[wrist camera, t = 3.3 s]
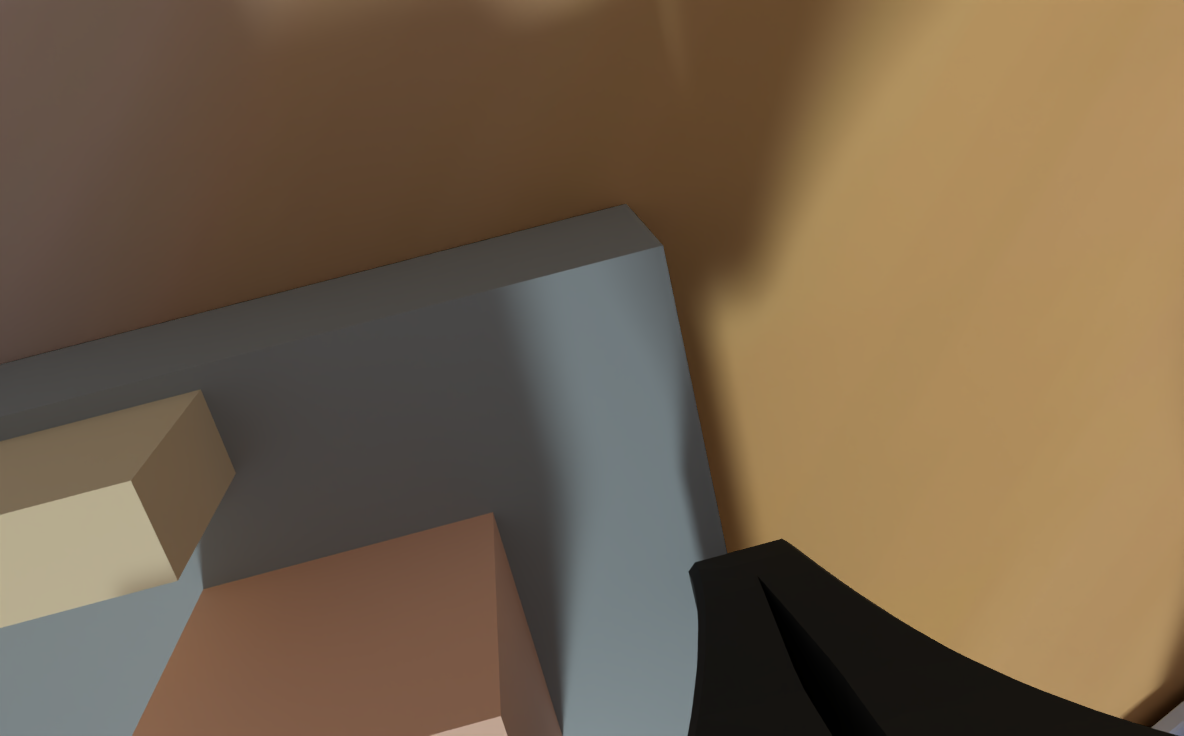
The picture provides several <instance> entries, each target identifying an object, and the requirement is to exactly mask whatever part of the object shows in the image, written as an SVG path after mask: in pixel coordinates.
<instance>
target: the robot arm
mask: <svg viewBox="0 0 1184 736" xmlns="http://www.w3.org/2000/svg"><path fill="white" fill-rule="evenodd" d="M688 572H689V576H690V581H691V585H692V590H693V594H694V599H695V603H696V608H697V614H698V652H697V671H696V679H695V688H694V696H693V705H692V713H691V719H690V724H689V730H688V735H687V736H1184V701H1182V702H1181V703H1180V704H1179V705H1178V706H1176V707H1175V708H1174V709H1173V710H1172V711H1170V712H1169V713H1168V714H1167V715H1166V716H1164V717H1163V718H1162V719H1161V720H1160V721H1158V722H1157V723H1156V724H1155V725H1154V726H1152V727H1151V728H1150V727H1146V726H1143V725H1139V724H1136V723H1133V722H1130V721H1127V720H1123V719H1120V718H1117V717H1114V716H1111V715H1108V714H1105V713H1102V712H1099V711H1096V710H1093V709H1090V708H1088V707H1085V706H1082V705H1079V704H1077V703H1074V702H1071V701H1068V700H1066V699H1063V698H1060V697H1058V696H1055V695H1052V694H1049V693H1047V692H1044V691H1042V690H1039V689H1037V688H1034V687H1032V686H1029V685H1027V684H1024V683H1022V682H1020V681H1017V680H1015V679H1013V678H1010V677H1008V676H1006V675H1004V674H1002V673H1000V672H997V671H995V670H993V669H991V668H989V667H987V666H984V665H982V664H980V663H978V662H976V661H973V660H971V659H969V658H967V657H965V656H963V655H961V654H959V653H957V652H955V651H953V650H951V649H949V648H947V647H945V646H944V645H942V644H940V643H938V642H937V641H935V640H933V639H931V638H930V637H928V636H926V635H924V634H923V633H921V632H919V631H917V630H916V629H914V628H912V627H911V626H909V625H907V624H906V623H904V622H902V621H901V620H899V619H897V618H896V617H894V616H893V615H891V614H890V613H888V612H886V611H885V610H883V609H882V608H880V607H879V606H877V605H876V604H874V603H873V602H871V601H869V600H868V599H866V598H865V597H863V596H862V595H860V594H859V593H857V592H856V591H854V590H853V589H852V588H850V587H849V586H847V585H846V584H844V583H843V582H842V581H840V580H839V579H837V578H836V577H835V576H833V575H832V574H830V573H829V572H828V571H826V570H825V569H823V568H822V567H821V566H819V565H818V564H817V563H815V562H814V561H813V560H811V559H810V558H809V557H807V556H806V555H805V554H803V553H802V552H801V551H799V550H798V549H797V548H795V547H794V546H793V545H791V544H790V543H788V542H787V541H785V540H783V539H780V540H776V541H772V542H769V543H765V544H761V545H757V546H754V547H750V548H746V549H742V550H739V551H735V552H731V553H728V554H724V555H720V556H716V557H713V558H709V559H705V560H701V561H698V562H695V563H694V564H693V566H692V567H691V569H690V570H689V571H688Z"/></svg>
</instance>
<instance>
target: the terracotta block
mask: <svg viewBox="0 0 1184 736" xmlns="http://www.w3.org/2000/svg"><path fill="white" fill-rule="evenodd" d="M132 736H562V733H561V730H560V726H559V723H558V720H557V717H556V714H555V710H554V707H553V704H552V701H551V697H550V694H549V691H548V688H547V685H546V681H545V678H544V675H543V672H542V669H541V665H540V662H539V659H538V656H537V652H536V649H535V646H534V643H533V640H532V636H531V633H530V630H529V627H528V624H527V620H526V617H525V614H524V611H523V607H522V604H521V601H520V598H519V595H518V591H517V588H516V585H515V582H514V578H513V575H512V572H511V569H510V566H509V562H508V559H507V556H506V553H505V550H504V546H503V543H502V540H501V537H500V533H499V530H498V527H497V524H496V521H495V517H494V514H493V512H492V513H488V514H484V515H481V516H477V517H473V518H469V519H466V520H462V521H458V522H454V523H451V524H447V525H443V526H439V527H436V528H432V529H428V530H424V531H421V532H417V533H413V534H409V535H406V536H402V537H398V538H394V539H391V540H387V541H383V542H379V543H375V544H372V545H368V546H364V547H360V548H357V549H353V550H349V551H345V552H342V553H338V554H334V555H330V556H327V557H323V558H319V559H315V560H312V561H308V562H304V563H300V564H297V565H293V566H289V567H285V568H282V569H278V570H274V571H270V572H267V573H263V574H259V575H255V576H252V577H248V578H244V579H240V580H237V581H233V582H229V583H225V584H222V585H218V586H214V587H210V588H207V589H203V591H202V593H201V595H200V597H199V599H198V601H197V603H196V605H195V607H194V609H193V611H192V613H191V615H190V618H189V620H188V622H187V624H186V626H185V628H184V630H183V632H182V634H181V636H180V638H179V640H178V642H177V644H176V646H175V648H174V650H173V653H172V655H171V657H170V659H169V661H168V663H167V665H166V667H165V669H164V671H163V673H162V675H161V677H160V679H159V681H158V683H157V685H156V687H155V690H154V692H153V694H152V696H151V698H150V700H149V702H148V704H147V706H146V708H145V710H144V712H143V714H142V716H141V718H140V720H139V722H138V725H137V727H136V729H135V731H134V733H133V735H132Z"/></svg>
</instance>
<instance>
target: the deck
mask: <svg viewBox="0 0 1184 736" xmlns="http://www.w3.org/2000/svg"><path fill="white" fill-rule="evenodd" d="M492 512H493V514H494V517H495V521H496V524H497V527H498V530H499V533H500V537H501V540H502V543H503V546H504V550H505V553H506V556H507V559H508V562H509V566H510V569H511V572H512V575H513V578H514V582H515V585H516V588H517V591H518V595H519V598H520V601H521V604H522V607H523V611H524V614H525V617H526V620H527V624H528V627H529V630H530V633H531V636H532V640H533V643H534V646H535V649H536V652H537V656H538V659H539V662H540V665H541V669H542V672H543V675H544V678H545V681H546V685H547V688H548V691H549V694H550V697H551V701H552V704H553V707H554V710H555V714H556V717H557V720H558V723H559V726H560V730H561V733H562V736H687V735H688V730H689V724H690V719H691V713H692V705H693V696H694V688H695V679H696V671H697V652H698V614H697V608H696V603H695V599H694V594H693V590H692V585H691V581H690V576H689V572H688V571H689V570H690V569H691V567H692V566H693V564H694V563H695V562H698V561H701V560H705V559H709V558H713V557H716V556H720V555H724V554H727V550H726V545H725V540H724V535H723V531H722V526H721V521H720V516H719V511H718V507H717V502H716V497H715V492H714V487H713V483H712V478H711V473H710V468H709V464H708V459H707V454H706V449H705V444H704V440H703V435H702V430H701V425H700V420H699V416H698V411H697V406H696V401H695V396H694V392H693V387H692V382H691V377H690V372H689V368H688V363H687V358H686V353H685V348H684V344H683V339H682V334H681V329H680V324H679V320H678V315H677V310H676V305H675V300H674V296H673V291H672V286H671V281H670V276H669V272H668V267H667V262H666V257H665V252H664V248H663V245H662V244H661V243H660V241H659V240H658V239H657V238H656V237H655V236H654V235H653V234H652V232H651V231H650V230H649V229H648V228H647V227H646V226H645V224H644V223H643V222H642V221H641V220H640V219H639V218H638V217H637V215H636V214H635V213H634V212H633V211H632V210H631V209H630V208H629V206H628V205H627V204H623V205H620V206H616V207H612V208H608V209H604V210H600V211H596V212H592V213H588V214H585V215H581V216H577V217H573V218H569V219H565V220H561V221H557V222H553V223H549V224H546V225H542V226H538V227H534V228H530V229H526V230H522V231H518V232H514V233H511V234H507V235H503V236H499V237H495V238H491V239H487V240H483V241H479V242H476V243H472V244H468V245H464V246H460V247H456V248H452V249H448V250H444V251H440V252H437V253H433V254H429V255H425V256H421V257H417V258H413V259H409V260H405V261H402V262H398V263H394V264H390V265H386V266H382V267H378V268H374V269H370V270H367V271H363V272H359V273H355V274H351V275H347V276H343V277H339V278H335V279H331V280H328V281H324V282H320V283H316V284H312V285H308V286H304V287H300V288H296V289H293V290H289V291H285V292H281V293H277V294H273V295H269V296H265V297H261V298H258V299H254V300H250V301H246V302H242V303H238V304H234V305H230V306H226V307H222V308H219V309H215V310H211V311H207V312H203V313H199V314H195V315H191V316H187V317H184V318H180V319H176V320H172V321H168V322H164V323H160V324H156V325H152V326H149V327H145V328H141V329H137V330H133V331H129V332H125V333H121V334H117V335H113V336H110V337H106V338H102V339H98V340H94V341H90V342H86V343H82V344H78V345H75V346H71V347H67V348H63V349H59V350H55V351H51V352H47V353H43V354H40V355H36V356H32V357H28V358H24V359H20V360H16V361H12V362H8V363H4V364H1V365H0V736H132V735H133V733H134V731H135V729H136V727H137V725H138V722H139V720H140V718H141V716H142V714H143V712H144V710H145V708H146V706H147V704H148V702H149V700H150V698H151V696H152V694H153V692H154V690H155V687H156V685H157V683H158V681H159V679H160V677H161V675H162V673H163V671H164V669H165V667H166V665H167V663H168V661H169V659H170V657H171V655H172V653H173V650H174V648H175V646H176V644H177V642H178V640H179V638H180V636H181V634H182V632H183V630H184V628H185V626H186V624H187V622H188V620H189V618H190V615H191V613H192V611H193V609H194V607H195V605H196V603H197V601H198V599H199V597H200V595H201V593H202V591H203V589H207V588H210V587H214V586H218V585H222V584H225V583H229V582H233V581H237V580H240V579H244V578H248V577H252V576H255V575H259V574H263V573H267V572H270V571H274V570H278V569H282V568H285V567H289V566H293V565H297V564H300V563H304V562H308V561H312V560H315V559H319V558H323V557H327V556H330V555H334V554H338V553H342V552H345V551H349V550H353V549H357V548H360V547H364V546H368V545H372V544H375V543H379V542H383V541H387V540H391V539H394V538H398V537H402V536H406V535H409V534H413V533H417V532H421V531H424V530H428V529H432V528H436V527H439V526H443V525H447V524H451V523H454V522H458V521H462V520H466V519H469V518H473V517H477V516H481V515H484V514H488V513H492Z"/></svg>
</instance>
